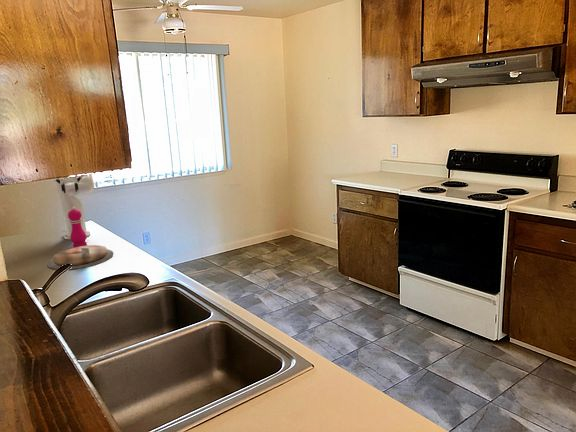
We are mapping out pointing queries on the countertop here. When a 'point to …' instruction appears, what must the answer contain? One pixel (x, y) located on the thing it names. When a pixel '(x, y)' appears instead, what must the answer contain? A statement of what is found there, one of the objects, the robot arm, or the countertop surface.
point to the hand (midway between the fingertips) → (70, 191)
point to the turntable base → (107, 257)
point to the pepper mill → (77, 228)
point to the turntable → (80, 255)
